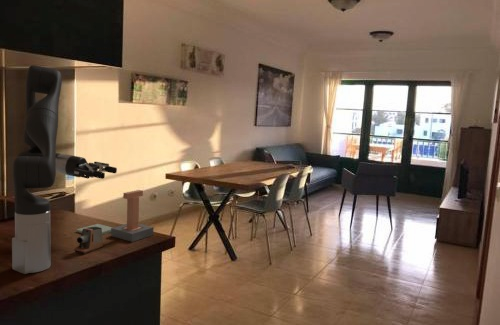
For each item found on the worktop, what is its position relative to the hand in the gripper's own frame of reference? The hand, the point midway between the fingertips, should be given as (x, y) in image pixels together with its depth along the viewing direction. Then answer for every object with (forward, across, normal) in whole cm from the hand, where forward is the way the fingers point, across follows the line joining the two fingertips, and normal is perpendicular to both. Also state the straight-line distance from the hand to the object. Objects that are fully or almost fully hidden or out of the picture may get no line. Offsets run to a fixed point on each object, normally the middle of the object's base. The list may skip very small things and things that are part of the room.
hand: (110, 173), depth 152 cm
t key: (+10, +2, +23) cm, 25 cm away
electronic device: (+3, -17, +23) cm, 29 cm away
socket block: (+10, +2, +23) cm, 25 cm away
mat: (-5, +2, +25) cm, 25 cm away
